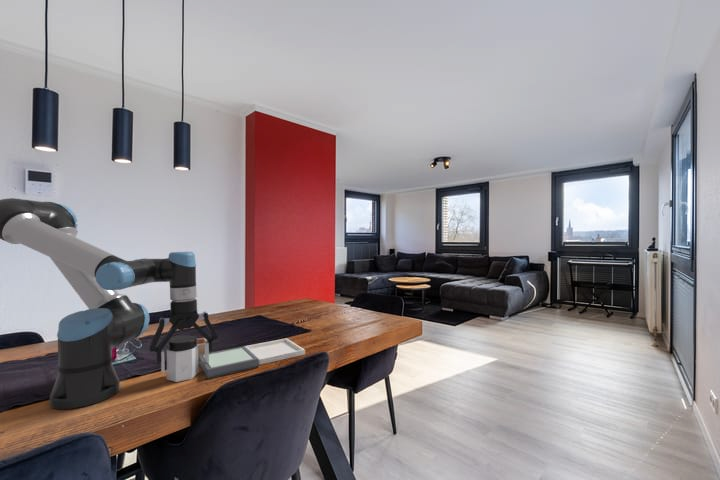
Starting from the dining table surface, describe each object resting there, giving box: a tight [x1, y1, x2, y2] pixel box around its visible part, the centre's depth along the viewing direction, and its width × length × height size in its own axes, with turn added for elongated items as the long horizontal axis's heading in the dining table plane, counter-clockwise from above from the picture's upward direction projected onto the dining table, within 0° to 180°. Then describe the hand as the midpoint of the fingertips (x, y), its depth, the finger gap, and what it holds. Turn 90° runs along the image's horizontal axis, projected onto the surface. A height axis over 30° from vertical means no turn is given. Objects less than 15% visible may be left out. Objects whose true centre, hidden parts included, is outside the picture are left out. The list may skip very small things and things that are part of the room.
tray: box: [244, 337, 306, 366], centre depth 128 cm, size 18×18×2 cm
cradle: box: [198, 345, 259, 380], centre depth 115 cm, size 16×16×3 cm
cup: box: [197, 337, 207, 355], centre depth 122 cm, size 8×8×6 cm
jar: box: [166, 335, 199, 383], centre depth 106 cm, size 9×8×12 cm
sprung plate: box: [203, 348, 253, 368], centre depth 115 cm, size 13×13×1 cm
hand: (185, 366), depth 106 cm, fingers open, 12 cm apart
